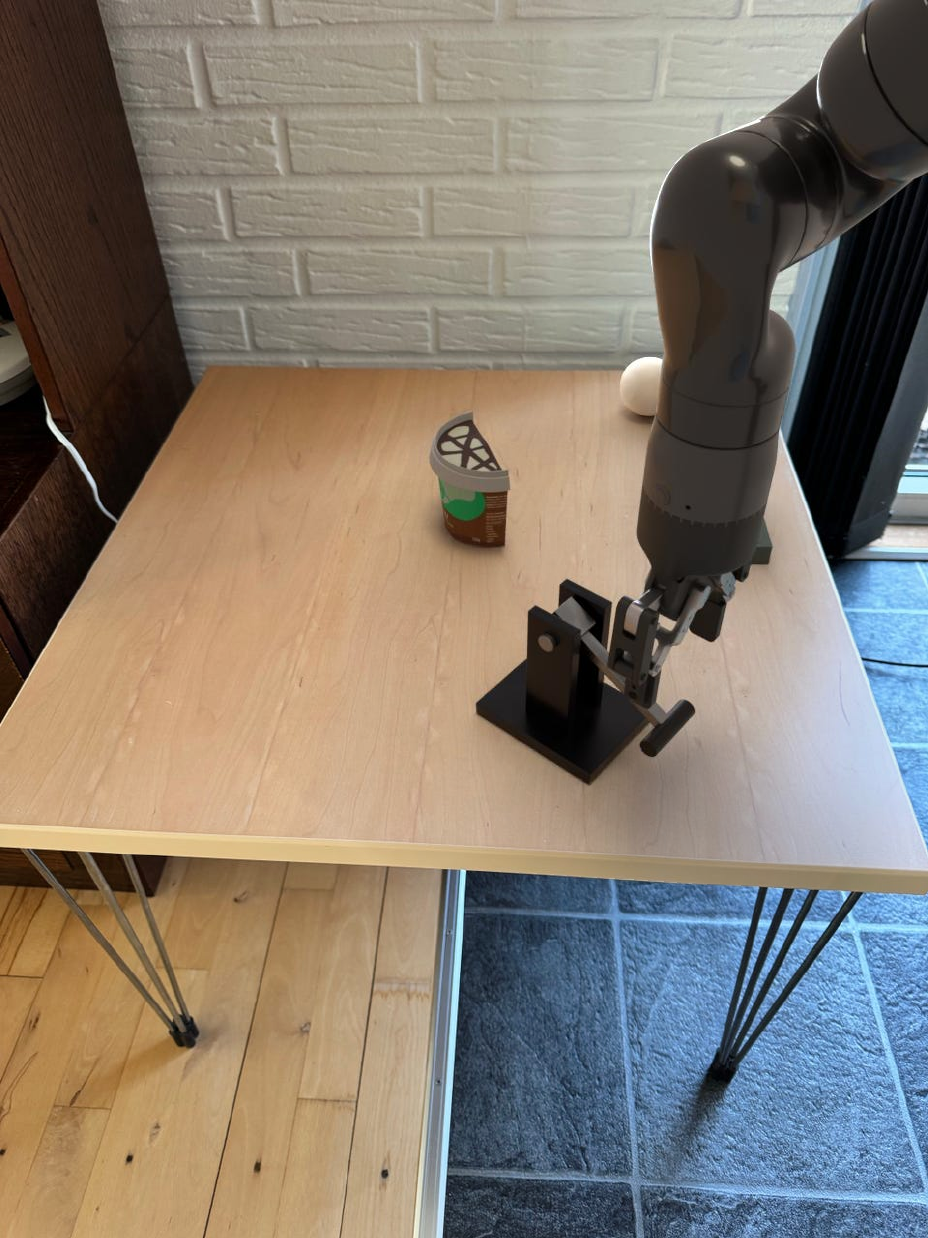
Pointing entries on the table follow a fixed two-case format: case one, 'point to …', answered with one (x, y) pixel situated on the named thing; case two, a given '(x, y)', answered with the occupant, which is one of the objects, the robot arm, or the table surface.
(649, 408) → the cream ball
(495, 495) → the food container
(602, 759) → the bracket
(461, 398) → the table surface
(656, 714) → the lever
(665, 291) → the robot arm
